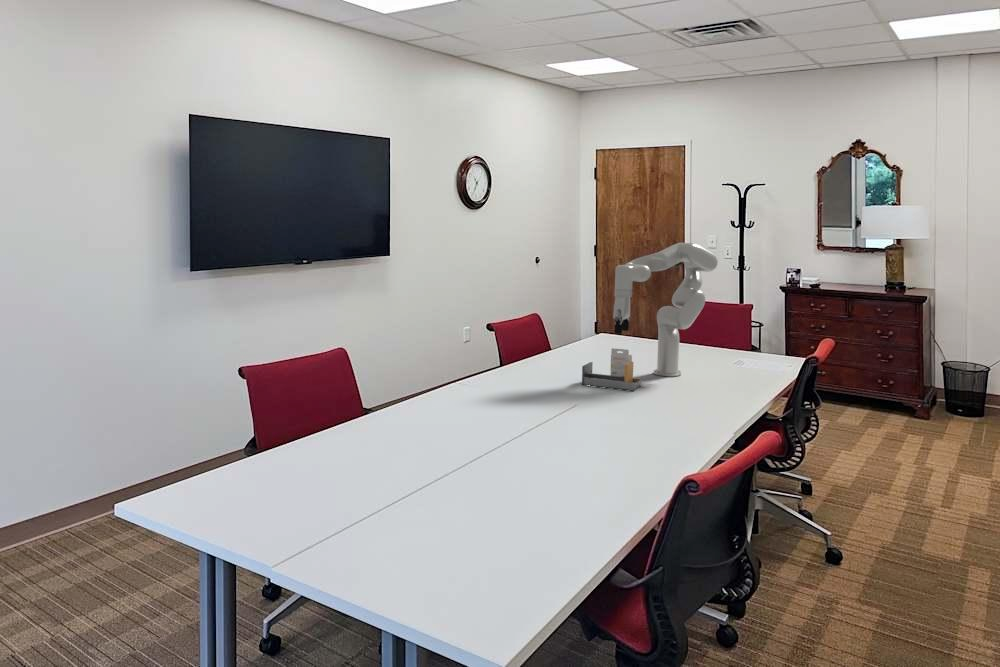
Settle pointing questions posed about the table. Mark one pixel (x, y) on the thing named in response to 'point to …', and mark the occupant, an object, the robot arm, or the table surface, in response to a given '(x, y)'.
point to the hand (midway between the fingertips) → (621, 332)
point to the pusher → (629, 372)
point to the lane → (607, 380)
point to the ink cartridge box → (619, 361)
